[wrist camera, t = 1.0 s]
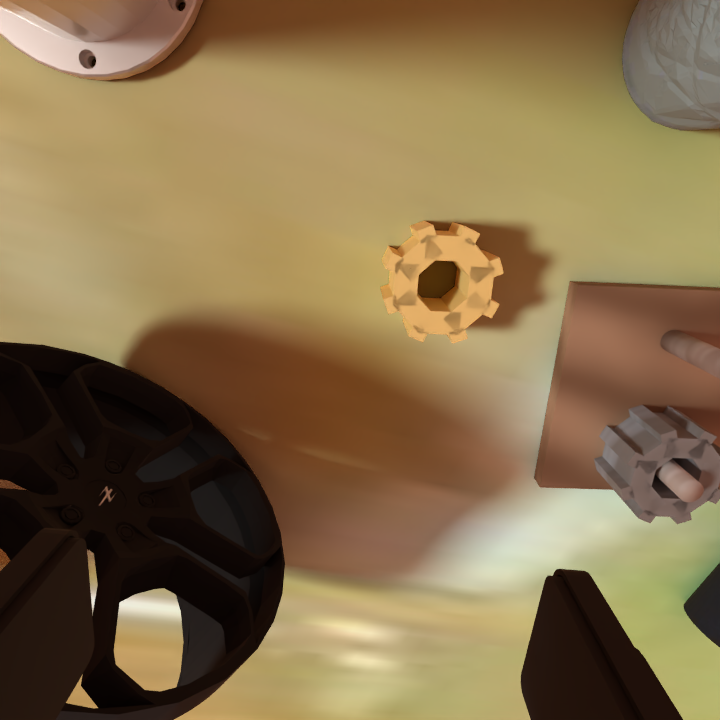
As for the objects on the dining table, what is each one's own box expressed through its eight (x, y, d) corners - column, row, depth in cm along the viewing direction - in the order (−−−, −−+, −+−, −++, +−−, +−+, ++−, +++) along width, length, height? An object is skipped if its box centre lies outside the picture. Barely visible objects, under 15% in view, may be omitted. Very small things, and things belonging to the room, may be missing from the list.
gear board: (569, 281, 31) (620, 303, 25) (774, 290, 31) (871, 313, 26) (534, 478, 36) (569, 535, 30) (713, 483, 36) (783, 541, 30)
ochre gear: (384, 218, 30) (388, 222, 26) (492, 223, 30) (510, 228, 26) (377, 324, 32) (380, 340, 28) (478, 328, 32) (494, 345, 29)
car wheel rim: (301, 483, 36) (242, 821, 17) (218, 572, 38) (85, 955, 19) (46, 305, 31) (-428, 488, 12) (-28, 419, 34) (-521, 718, 15)
